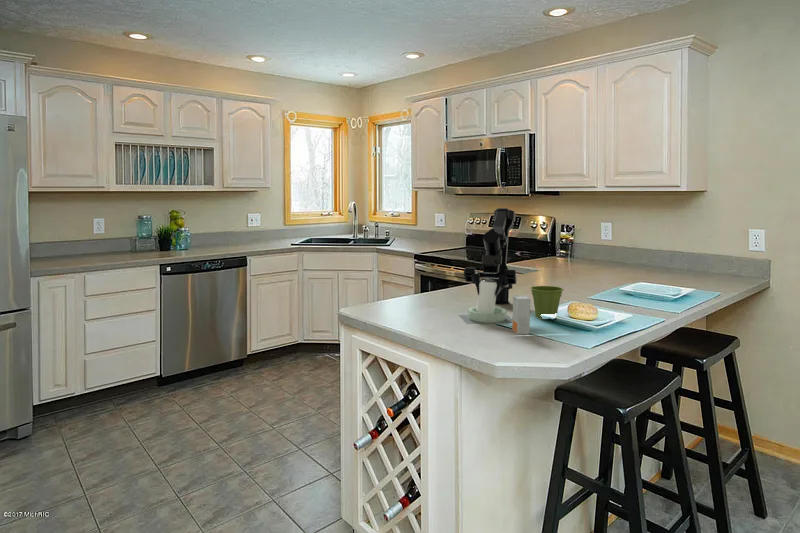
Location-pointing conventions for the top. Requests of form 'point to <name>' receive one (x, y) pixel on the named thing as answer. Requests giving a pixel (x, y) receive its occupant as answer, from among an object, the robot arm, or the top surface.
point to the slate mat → (468, 321)
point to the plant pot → (546, 299)
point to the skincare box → (521, 314)
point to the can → (486, 296)
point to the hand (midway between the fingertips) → (487, 294)
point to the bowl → (487, 315)
